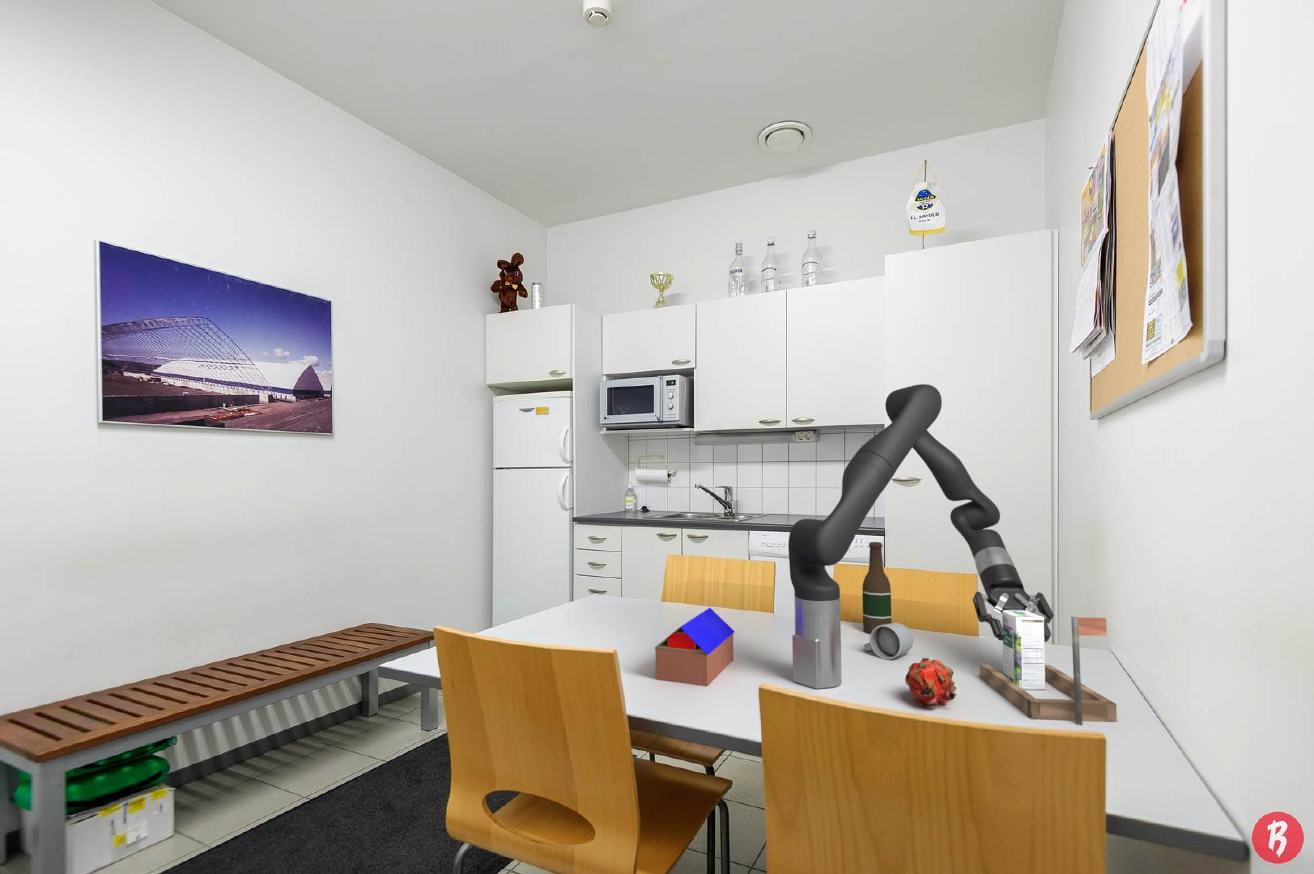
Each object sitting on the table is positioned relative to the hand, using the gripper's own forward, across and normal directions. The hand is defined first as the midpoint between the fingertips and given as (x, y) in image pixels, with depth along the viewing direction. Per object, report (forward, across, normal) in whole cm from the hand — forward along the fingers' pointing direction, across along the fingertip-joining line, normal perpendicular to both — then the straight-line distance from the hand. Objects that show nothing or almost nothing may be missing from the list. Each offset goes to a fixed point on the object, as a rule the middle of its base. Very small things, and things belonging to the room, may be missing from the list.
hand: (1024, 639), depth 127 cm
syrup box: (+6, 0, +7) cm, 10 cm away
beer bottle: (-22, -19, +36) cm, 47 cm away
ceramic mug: (-7, -22, +21) cm, 31 cm away
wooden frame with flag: (+12, 0, +1) cm, 12 cm away
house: (+3, -66, +11) cm, 67 cm away
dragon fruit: (+14, -22, -1) cm, 26 cm away
